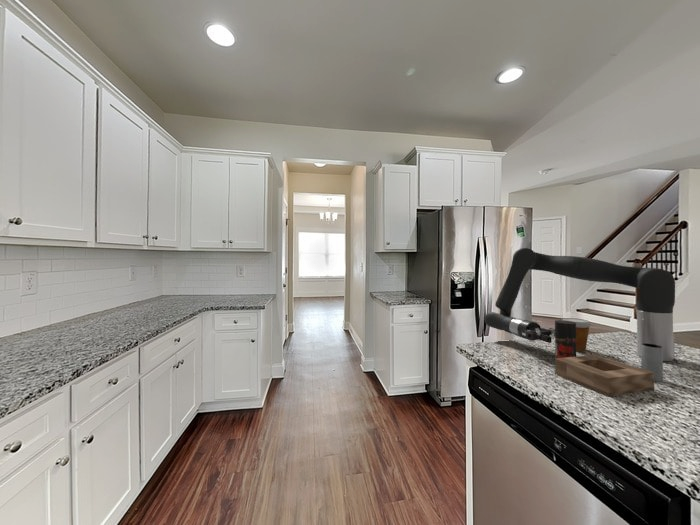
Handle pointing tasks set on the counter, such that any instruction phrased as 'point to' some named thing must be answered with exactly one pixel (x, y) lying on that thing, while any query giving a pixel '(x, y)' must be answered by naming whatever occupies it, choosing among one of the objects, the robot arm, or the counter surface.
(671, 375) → the counter surface
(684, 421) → the counter surface
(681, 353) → the counter surface
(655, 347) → the gray cylindrical tube
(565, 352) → the deodorant
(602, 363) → the socket block
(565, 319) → the disposable coffee cup
